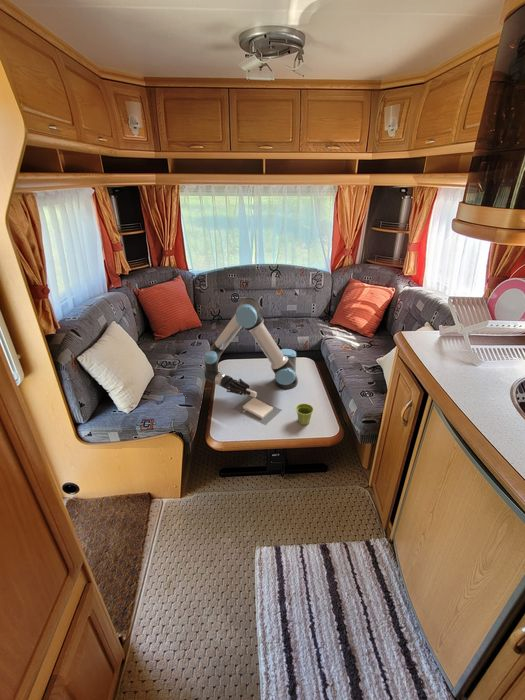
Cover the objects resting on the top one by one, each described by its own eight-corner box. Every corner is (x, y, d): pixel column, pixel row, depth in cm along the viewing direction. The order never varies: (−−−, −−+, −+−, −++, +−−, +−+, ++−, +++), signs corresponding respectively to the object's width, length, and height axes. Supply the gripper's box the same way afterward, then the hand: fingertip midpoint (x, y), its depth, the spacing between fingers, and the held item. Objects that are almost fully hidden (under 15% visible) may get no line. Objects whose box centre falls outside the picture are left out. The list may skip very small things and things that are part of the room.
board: (231, 410, 198) (231, 407, 197) (249, 396, 210) (249, 394, 209) (265, 426, 186) (265, 423, 185) (282, 411, 197) (282, 408, 196)
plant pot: (294, 415, 194) (295, 403, 189) (311, 415, 193) (312, 403, 189) (295, 426, 185) (296, 414, 181) (313, 427, 185) (314, 414, 181)
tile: (242, 406, 195) (262, 416, 188) (253, 397, 202) (273, 407, 195) (242, 408, 196) (262, 419, 189) (253, 399, 203) (273, 410, 196)
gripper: (231, 381, 211) (262, 394, 199) (217, 391, 202) (248, 406, 190) (231, 370, 208) (262, 383, 195) (216, 380, 198) (248, 394, 186)
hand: (255, 394), depth 193 cm, fingers closed
